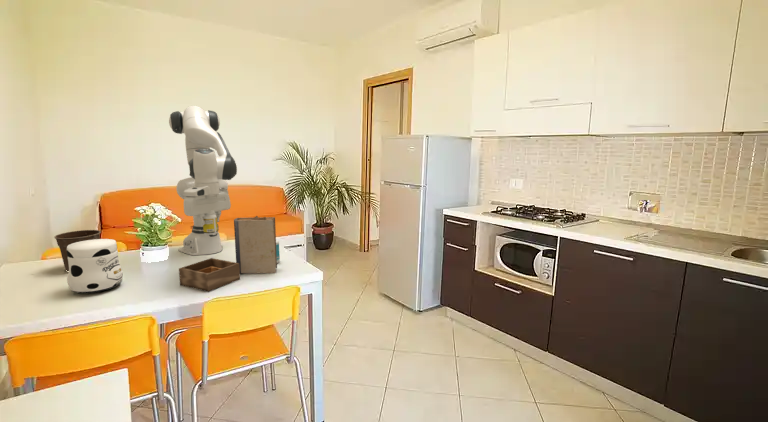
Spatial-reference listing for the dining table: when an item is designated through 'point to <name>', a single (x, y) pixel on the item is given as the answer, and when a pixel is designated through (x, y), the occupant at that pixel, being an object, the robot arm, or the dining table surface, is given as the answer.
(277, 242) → the pill bottle
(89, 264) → the milk container
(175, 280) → the dining table surface
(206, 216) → the supplement bottle
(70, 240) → the plant pot
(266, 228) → the book
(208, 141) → the robot arm
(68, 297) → the dining table surface
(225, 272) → the walled box
